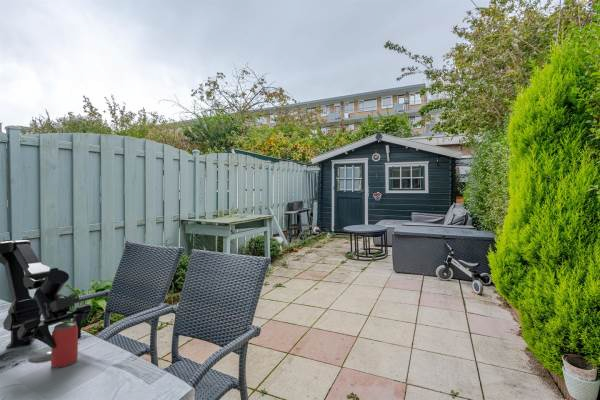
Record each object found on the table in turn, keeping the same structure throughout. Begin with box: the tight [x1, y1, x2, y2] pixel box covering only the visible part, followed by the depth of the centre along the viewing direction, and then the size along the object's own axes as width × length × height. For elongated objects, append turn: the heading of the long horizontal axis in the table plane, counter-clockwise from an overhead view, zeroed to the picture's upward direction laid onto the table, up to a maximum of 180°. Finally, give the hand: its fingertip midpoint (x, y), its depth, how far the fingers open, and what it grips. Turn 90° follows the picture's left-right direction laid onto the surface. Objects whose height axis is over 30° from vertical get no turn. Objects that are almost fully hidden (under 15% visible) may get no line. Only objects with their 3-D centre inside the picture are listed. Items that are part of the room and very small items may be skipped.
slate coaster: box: [28, 345, 51, 363], centre depth 99 cm, size 10×10×1 cm
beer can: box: [50, 321, 79, 368], centre depth 94 cm, size 7×7×12 cm
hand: (67, 342), depth 93 cm, fingers closed on beer can, 7 cm apart
